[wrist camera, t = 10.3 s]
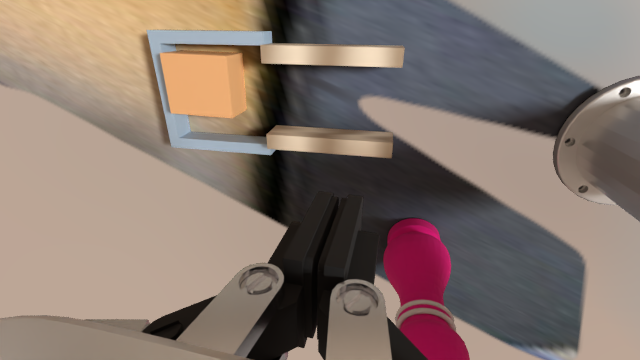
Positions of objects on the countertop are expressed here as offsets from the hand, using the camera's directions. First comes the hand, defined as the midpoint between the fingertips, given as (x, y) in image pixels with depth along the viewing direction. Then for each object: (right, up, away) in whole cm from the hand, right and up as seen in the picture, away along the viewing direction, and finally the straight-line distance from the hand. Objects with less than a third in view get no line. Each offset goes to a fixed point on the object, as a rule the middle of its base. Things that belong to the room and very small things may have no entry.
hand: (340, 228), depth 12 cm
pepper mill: (+11, -5, +27) cm, 30 cm away
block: (-12, +13, +23) cm, 29 cm away
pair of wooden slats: (+1, +11, +21) cm, 24 cm away
